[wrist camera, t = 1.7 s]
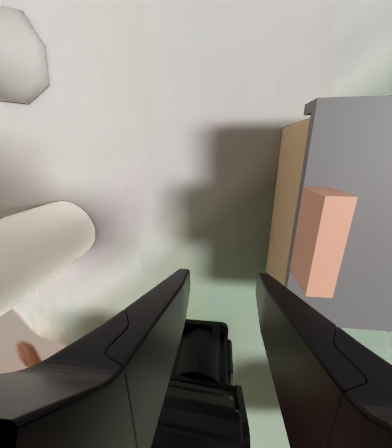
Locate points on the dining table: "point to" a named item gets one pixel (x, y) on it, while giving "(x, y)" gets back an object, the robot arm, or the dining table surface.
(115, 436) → the robot arm
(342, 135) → the lid
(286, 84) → the dining table surface
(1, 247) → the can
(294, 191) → the base
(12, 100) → the flask
